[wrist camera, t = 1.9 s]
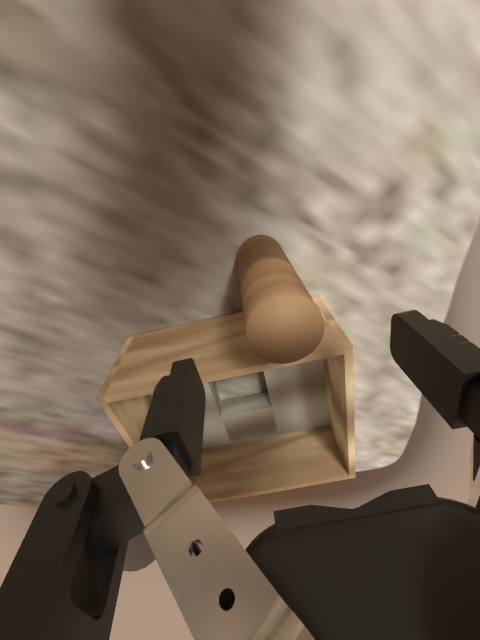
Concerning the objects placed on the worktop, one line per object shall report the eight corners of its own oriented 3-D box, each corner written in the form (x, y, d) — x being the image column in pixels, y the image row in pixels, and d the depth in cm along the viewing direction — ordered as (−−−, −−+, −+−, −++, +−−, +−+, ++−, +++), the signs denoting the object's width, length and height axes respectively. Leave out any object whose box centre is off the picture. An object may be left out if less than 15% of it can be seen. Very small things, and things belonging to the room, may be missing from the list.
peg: (231, 241, 20) (238, 308, 12) (279, 230, 20) (321, 289, 11) (242, 284, 22) (254, 370, 13) (285, 274, 22) (327, 355, 13)
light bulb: (190, 453, 32) (179, 563, 23) (162, 478, 34) (142, 587, 26) (143, 433, 30) (111, 546, 21) (116, 461, 32) (78, 574, 24)
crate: (128, 336, 24) (95, 399, 18) (318, 294, 23) (352, 346, 17) (182, 440, 31) (172, 509, 25) (328, 411, 30) (355, 477, 24)
